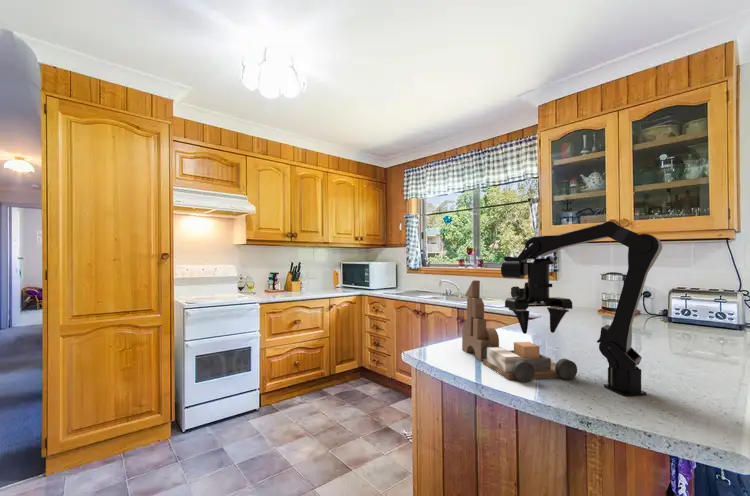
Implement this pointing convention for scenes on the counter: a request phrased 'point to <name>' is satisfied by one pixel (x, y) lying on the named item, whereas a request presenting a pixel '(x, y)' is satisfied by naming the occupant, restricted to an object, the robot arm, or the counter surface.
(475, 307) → the wooden toy
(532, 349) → the orange block
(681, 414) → the counter surface
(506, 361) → the chassis
